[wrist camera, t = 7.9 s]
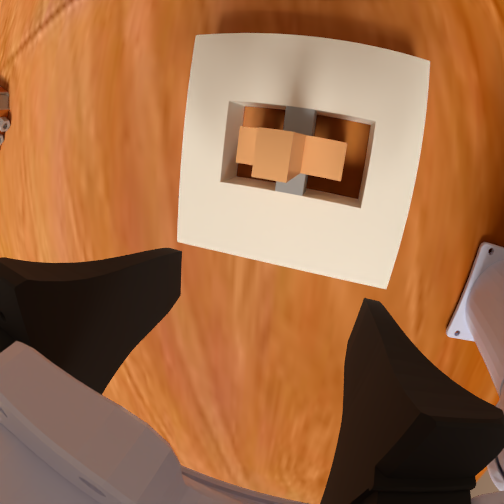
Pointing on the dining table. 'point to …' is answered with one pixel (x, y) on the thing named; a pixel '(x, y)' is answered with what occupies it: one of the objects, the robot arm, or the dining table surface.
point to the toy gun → (3, 113)
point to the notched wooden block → (289, 154)
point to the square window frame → (303, 121)
